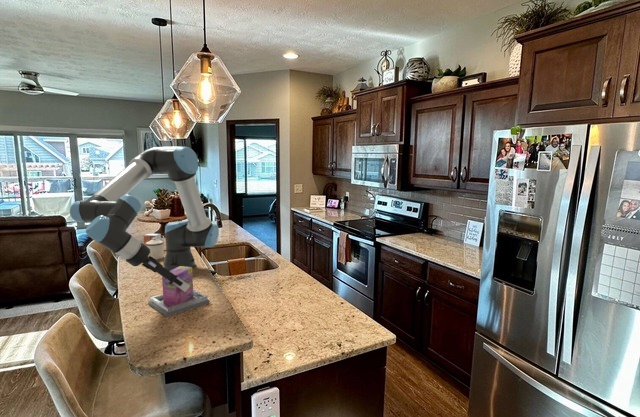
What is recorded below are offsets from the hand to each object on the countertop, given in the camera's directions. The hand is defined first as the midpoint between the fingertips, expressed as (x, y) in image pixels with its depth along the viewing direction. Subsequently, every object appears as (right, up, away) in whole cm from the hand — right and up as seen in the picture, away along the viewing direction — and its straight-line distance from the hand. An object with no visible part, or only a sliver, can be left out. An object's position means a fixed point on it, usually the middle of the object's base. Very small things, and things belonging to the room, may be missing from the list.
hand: (180, 284), depth 128 cm
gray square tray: (-1, -8, +1) cm, 8 cm away
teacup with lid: (-42, 0, +65) cm, 77 cm away
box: (-1, -7, 0) cm, 7 cm away
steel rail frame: (-1, -6, 0) cm, 6 cm away
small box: (-50, +2, +81) cm, 95 cm away
